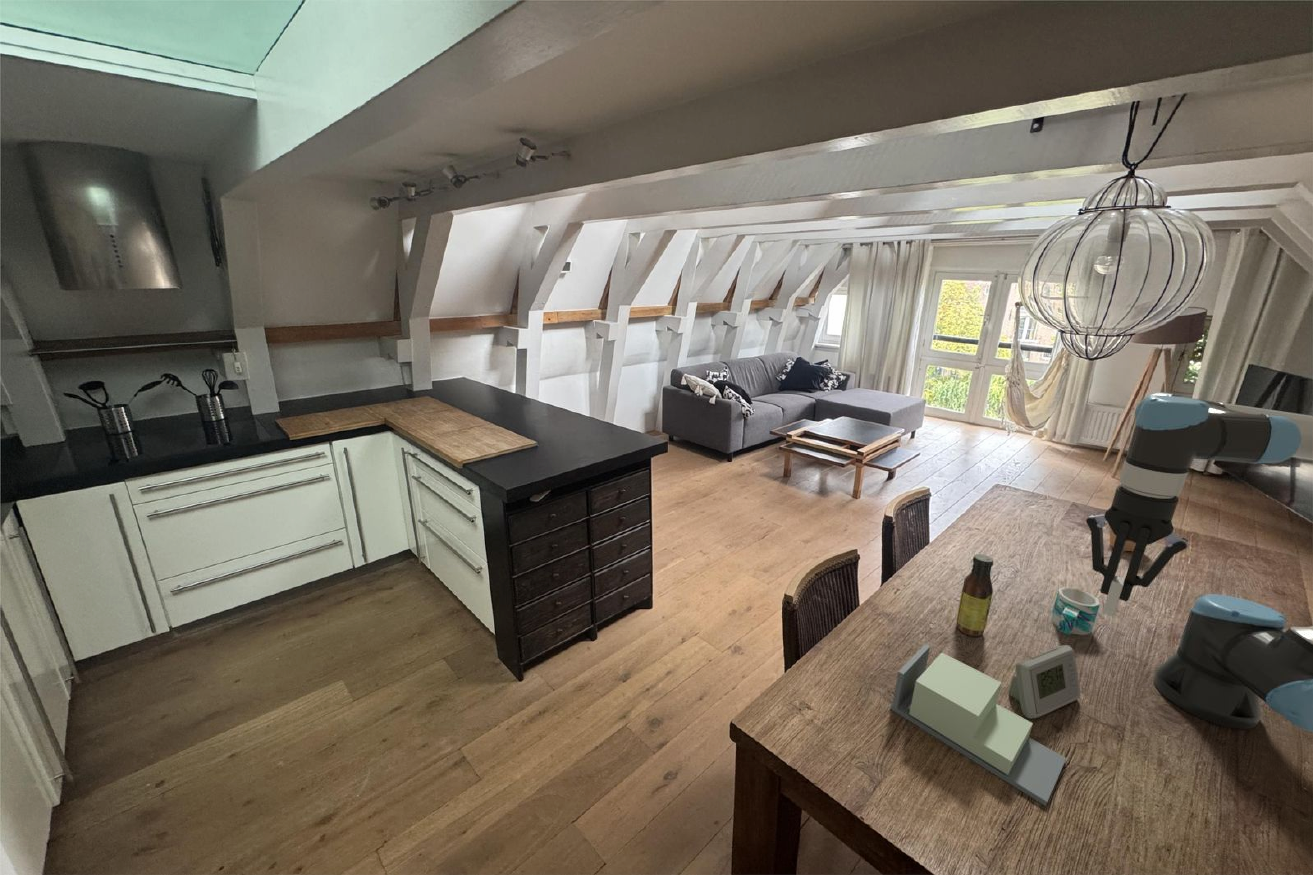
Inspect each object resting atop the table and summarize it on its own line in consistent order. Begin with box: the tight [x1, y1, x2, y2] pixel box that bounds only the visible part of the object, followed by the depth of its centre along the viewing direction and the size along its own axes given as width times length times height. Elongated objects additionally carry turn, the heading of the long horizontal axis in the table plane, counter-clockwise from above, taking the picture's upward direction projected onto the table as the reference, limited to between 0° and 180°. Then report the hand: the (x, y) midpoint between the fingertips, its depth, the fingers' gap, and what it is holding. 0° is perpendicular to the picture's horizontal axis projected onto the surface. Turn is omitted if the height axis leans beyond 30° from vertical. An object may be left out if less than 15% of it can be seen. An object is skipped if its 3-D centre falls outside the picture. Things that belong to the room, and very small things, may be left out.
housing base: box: [890, 643, 1067, 807], centre depth 95 cm, size 26×12×9 cm, turn 41°
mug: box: [1050, 586, 1101, 636], centre depth 126 cm, size 8×12×8 cm
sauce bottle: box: [956, 553, 994, 637], centre depth 123 cm, size 7×6×20 cm
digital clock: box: [1008, 644, 1081, 720], centre depth 103 cm, size 16×9×11 cm, turn 101°
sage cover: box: [909, 652, 1034, 775], centre depth 96 cm, size 17×12×8 cm
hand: (1109, 611), depth 91 cm, fingers closed
